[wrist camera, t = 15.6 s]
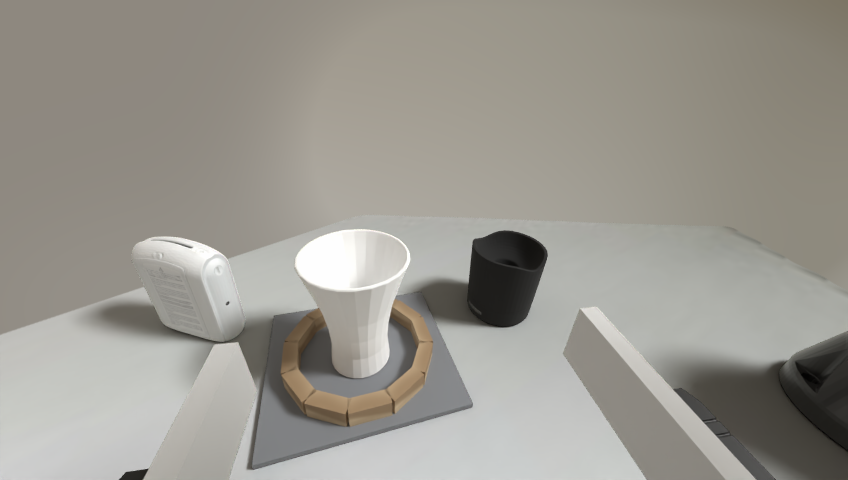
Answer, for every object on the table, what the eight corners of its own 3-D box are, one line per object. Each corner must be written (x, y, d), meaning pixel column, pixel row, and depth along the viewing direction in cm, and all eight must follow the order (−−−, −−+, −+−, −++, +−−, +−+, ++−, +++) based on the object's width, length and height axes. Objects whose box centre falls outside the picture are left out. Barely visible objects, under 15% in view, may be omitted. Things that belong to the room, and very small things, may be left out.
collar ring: (409, 298, 45) (410, 287, 44) (450, 399, 31) (452, 386, 30) (290, 318, 40) (287, 306, 39) (279, 446, 27) (274, 433, 26)
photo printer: (253, 322, 40) (228, 239, 34) (227, 347, 36) (193, 259, 30) (188, 305, 42) (153, 224, 36) (157, 328, 38) (113, 242, 32)
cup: (307, 404, 30) (283, 296, 24) (317, 325, 39) (302, 231, 32) (413, 388, 32) (419, 285, 26) (400, 317, 41) (402, 226, 34)
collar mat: (420, 294, 46) (421, 291, 46) (472, 407, 31) (472, 403, 31) (274, 319, 41) (273, 315, 40) (253, 469, 26) (251, 465, 26)
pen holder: (464, 282, 49) (472, 227, 44) (524, 289, 49) (539, 233, 44) (464, 325, 41) (473, 263, 36) (536, 334, 40) (555, 271, 36)
